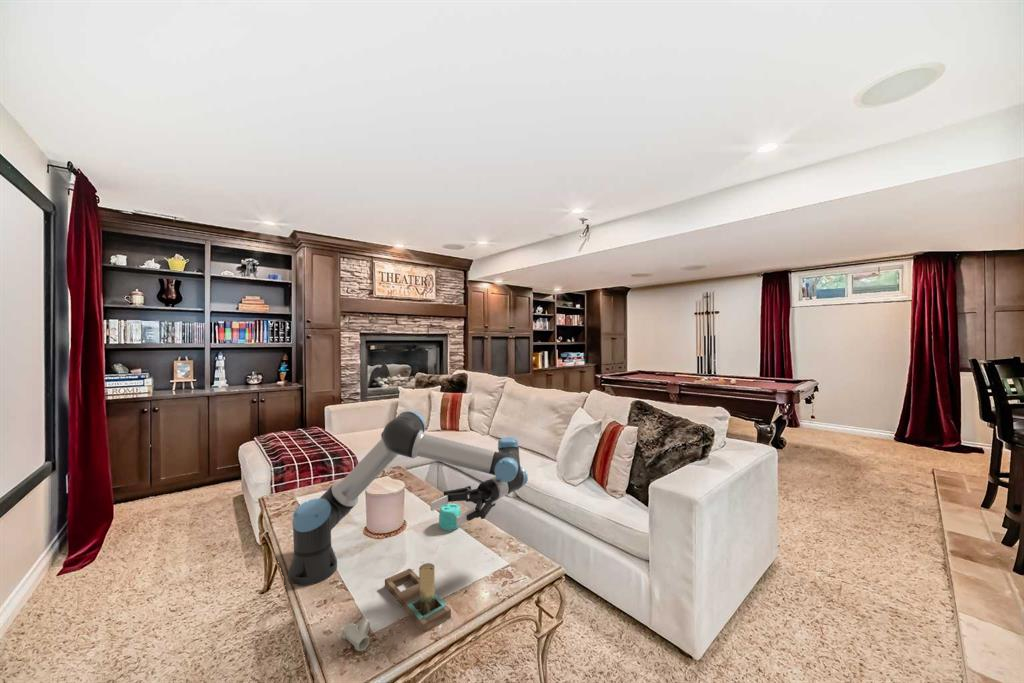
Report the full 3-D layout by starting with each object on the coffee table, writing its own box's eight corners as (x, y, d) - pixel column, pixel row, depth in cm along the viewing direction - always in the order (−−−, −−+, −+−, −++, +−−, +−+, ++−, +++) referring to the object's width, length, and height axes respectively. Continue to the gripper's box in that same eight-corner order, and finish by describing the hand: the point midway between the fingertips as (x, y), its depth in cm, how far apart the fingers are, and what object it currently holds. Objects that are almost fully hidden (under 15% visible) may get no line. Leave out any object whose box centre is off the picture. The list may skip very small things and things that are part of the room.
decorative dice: (458, 530, 166) (458, 511, 165) (439, 530, 166) (438, 511, 166) (461, 521, 174) (460, 503, 173) (442, 521, 174) (442, 503, 174)
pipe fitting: (364, 627, 114) (341, 640, 108) (364, 613, 114) (342, 625, 109) (380, 641, 109) (357, 655, 103) (381, 626, 109) (358, 640, 104)
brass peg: (417, 613, 118) (416, 567, 118) (430, 606, 121) (429, 561, 121) (424, 621, 115) (423, 574, 115) (437, 614, 118) (437, 568, 117)
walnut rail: (384, 586, 130) (384, 578, 130) (410, 575, 136) (410, 567, 136) (423, 633, 111) (423, 623, 111) (450, 617, 117) (450, 608, 116)
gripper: (518, 511, 132) (469, 540, 117) (470, 489, 149) (421, 512, 134) (518, 490, 131) (468, 516, 116) (469, 470, 149) (420, 490, 133)
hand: (443, 514), depth 125 cm, fingers open, 13 cm apart
